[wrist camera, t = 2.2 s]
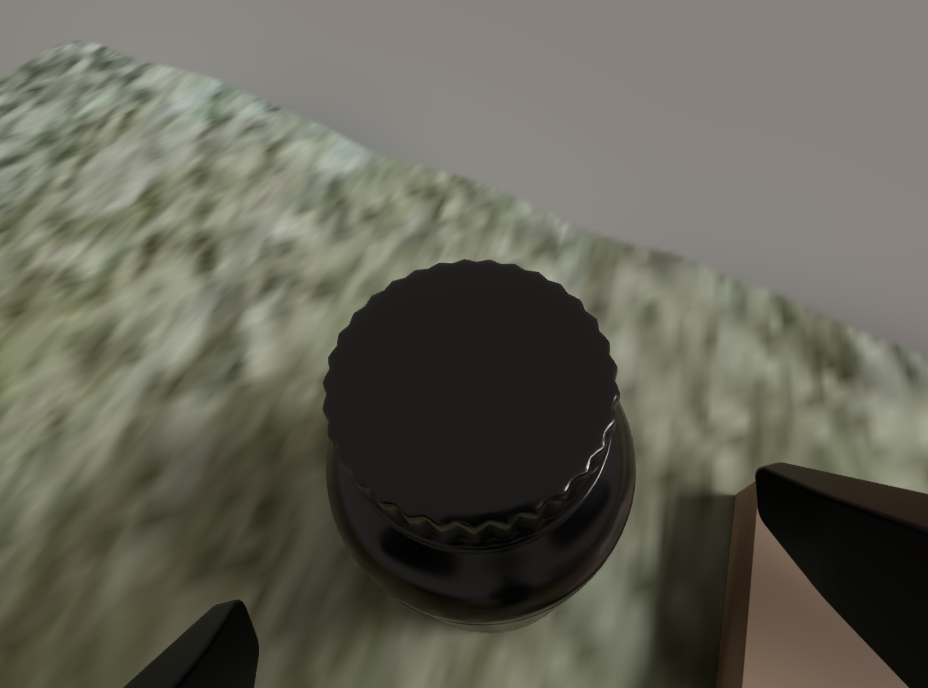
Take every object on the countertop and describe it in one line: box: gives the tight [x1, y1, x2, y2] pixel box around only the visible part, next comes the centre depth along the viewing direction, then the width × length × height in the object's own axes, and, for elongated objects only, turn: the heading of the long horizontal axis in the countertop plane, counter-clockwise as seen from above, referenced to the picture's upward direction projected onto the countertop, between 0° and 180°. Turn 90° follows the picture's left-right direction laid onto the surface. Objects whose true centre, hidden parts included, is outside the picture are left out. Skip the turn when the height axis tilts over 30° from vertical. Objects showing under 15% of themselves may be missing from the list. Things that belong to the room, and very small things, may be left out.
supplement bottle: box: [323, 259, 636, 633], centre depth 13 cm, size 7×7×12 cm
